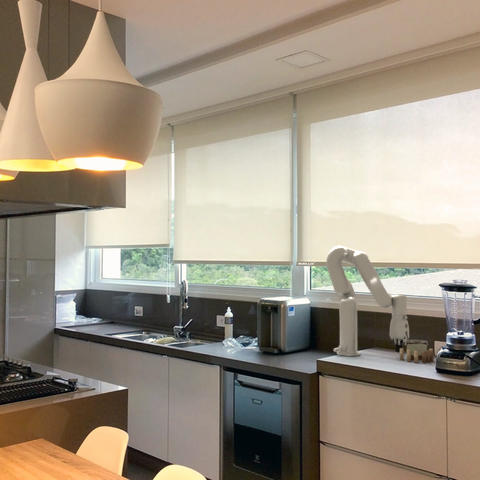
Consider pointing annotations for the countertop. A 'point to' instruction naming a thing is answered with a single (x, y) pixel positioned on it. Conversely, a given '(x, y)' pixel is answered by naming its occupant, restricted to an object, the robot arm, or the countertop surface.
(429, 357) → the peg bay
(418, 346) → the food container
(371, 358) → the countertop surface
